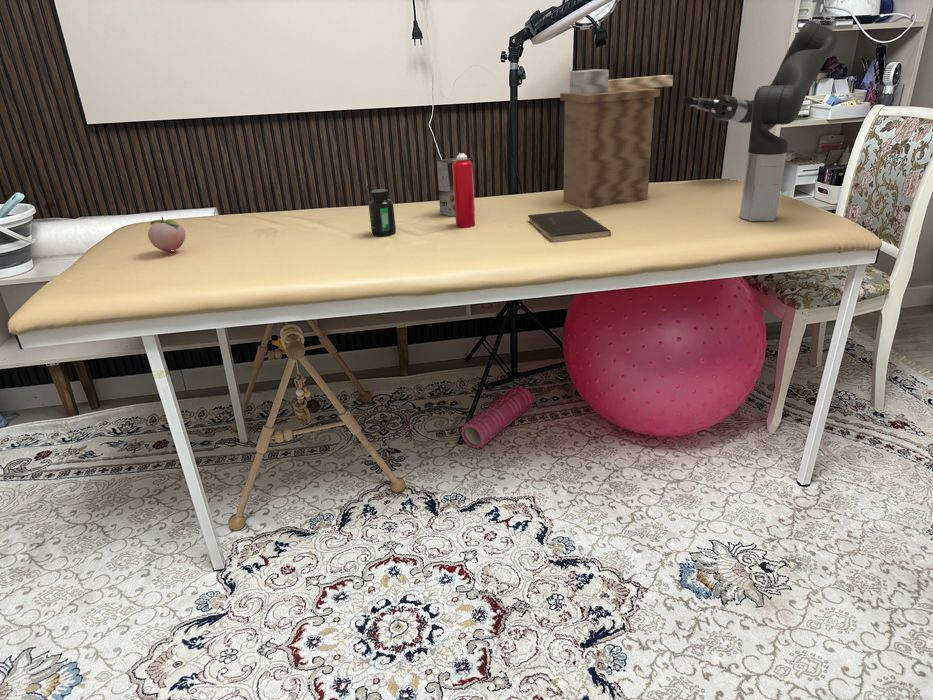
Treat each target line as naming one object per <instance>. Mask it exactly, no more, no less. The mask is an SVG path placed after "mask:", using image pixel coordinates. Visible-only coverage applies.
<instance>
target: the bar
mask: <svg viewBox="0 0 933 700" xmlns="http://www.w3.org/2000/svg"><path fill="white" fill-rule="evenodd" d="M609 74H610V69H584V70H572V71H571V70H570V71H569V92H570V94H580V95H587V94H598V93H608V92H611V91H622V90H633V89H644V88H651V89H656V88H666V87H673V83H674V75H673V74H663V75H652V76H640V77H639V76H638V77H628V78H617V79H616V78H613V79H609V77H610V75H609Z"/></svg>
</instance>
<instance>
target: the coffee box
mask: <svg viewBox="0 0 933 700" xmlns="http://www.w3.org/2000/svg"><path fill="white" fill-rule="evenodd" d="M456 160H457V158H456V157H453V158H446V159H439V160H437V161H436V164H437V168H436V169H437V183H438V185H437V186H438V196H439V197H438V198H439V201H438V202H439V212H440V214H441V215H444V216H448V217H452V218H453V217H456V216H455V200H454V184H453V167H452V165H453V163H454V162H455V161H456ZM467 160H469V161H470V162H471V163H472V173H473V174H474V163H473V161H474V159H473V158H470V157H467ZM474 186H475V185H474V181H473V193H474V194H475V190H474V189H475V187H474ZM475 208H476V206H475V205H474V212H475V211H476V209H475Z"/></svg>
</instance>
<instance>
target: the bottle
mask: <svg viewBox="0 0 933 700" xmlns="http://www.w3.org/2000/svg"><path fill="white" fill-rule="evenodd" d="M455 158H457V160H456V161H455V162H454V163H453V165H452V167H453V184H454V200H455V216H454V217H455V226H456V227H457V228H462V229H463V228H467V229H468V228H473V227H475V225H476V219H475V218H476V215H475V211H474V206H475V192H474V193H473V182H474V172H473V173H472V163H471V162H470V161H469V160H467V158H468V155H466V154H465V153H464V152H459V153H458V155H456V156H455Z"/></svg>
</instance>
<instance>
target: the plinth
mask: <svg viewBox="0 0 933 700" xmlns="http://www.w3.org/2000/svg"><path fill="white" fill-rule="evenodd" d="M660 96H661V89H660V88H644V89H633V90H622V91H611V92H608V93H598V94H587V95H580V94H570V91H569V92H560V93H559V97H560V98H559V101H564V116H563V117H564V121H563V122H564V124H563V125H564V126H563V127H564V128H563V129H564V130H563V132H564V133H563V141H564V142H563V194H562V195H563V197H562V198H563V200H562V201H565V202H567V203H570V204H572V205H575V206H576V207H580V208H582V209H585V210H586V209H587V210H588V209H593V208H600V207H606V206H607V207H608V206H614V205H619V204H620V205H622V204H627V203H634V202H639V201H640V202H641V201H647V200H648V196H649V183H650V169H651V168H650V167H651V157H652V156H651V155H652V154H651V153H652V143H653V142H652V141H653V140H652V139H653V130H654V129H653V128H654V113H655V112H654V111H655V99H656V98H657V97H658V98H659V97H660Z"/></svg>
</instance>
